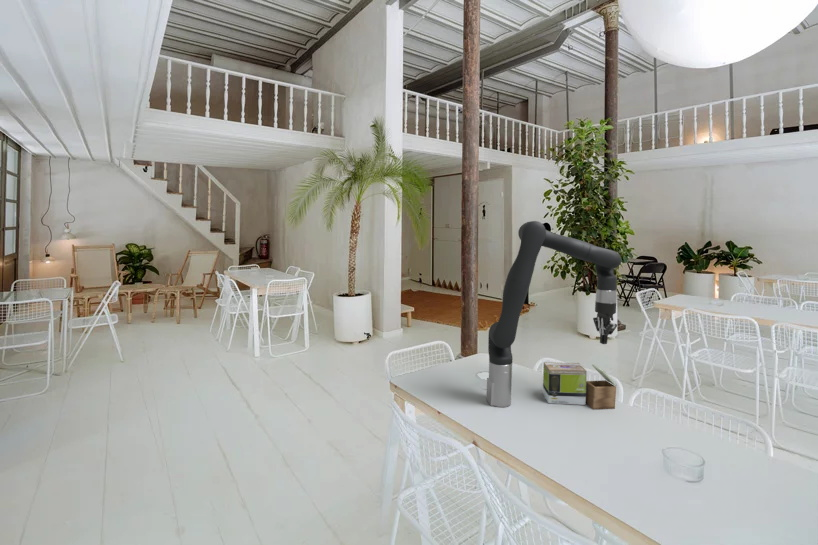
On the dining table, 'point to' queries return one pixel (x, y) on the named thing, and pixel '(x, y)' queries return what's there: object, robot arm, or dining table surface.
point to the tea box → (564, 383)
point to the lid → (604, 375)
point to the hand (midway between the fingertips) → (603, 343)
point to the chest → (600, 394)
